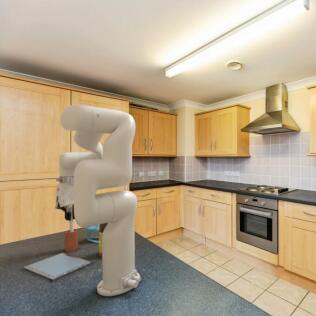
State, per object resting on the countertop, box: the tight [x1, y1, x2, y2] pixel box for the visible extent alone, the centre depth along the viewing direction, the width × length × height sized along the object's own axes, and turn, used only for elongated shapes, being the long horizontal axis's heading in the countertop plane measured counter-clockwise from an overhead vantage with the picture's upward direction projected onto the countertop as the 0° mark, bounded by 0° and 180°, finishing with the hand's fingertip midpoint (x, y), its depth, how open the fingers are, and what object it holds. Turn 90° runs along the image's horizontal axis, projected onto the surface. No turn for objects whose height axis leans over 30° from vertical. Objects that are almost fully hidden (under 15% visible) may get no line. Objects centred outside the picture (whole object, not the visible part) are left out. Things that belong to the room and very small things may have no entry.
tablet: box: [22, 252, 92, 282], centre depth 83 cm, size 20×13×1 cm, turn 66°
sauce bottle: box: [98, 223, 108, 258], centre depth 93 cm, size 7×6×20 cm
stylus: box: [68, 206, 75, 232], centre depth 96 cm, size 1×1×15 cm
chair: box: [85, 224, 100, 244], centre depth 108 cm, size 8×8×12 cm
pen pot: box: [64, 228, 79, 253], centre depth 97 cm, size 5×5×9 cm
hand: (70, 219), depth 97 cm, fingers closed on stylus, 1 cm apart
